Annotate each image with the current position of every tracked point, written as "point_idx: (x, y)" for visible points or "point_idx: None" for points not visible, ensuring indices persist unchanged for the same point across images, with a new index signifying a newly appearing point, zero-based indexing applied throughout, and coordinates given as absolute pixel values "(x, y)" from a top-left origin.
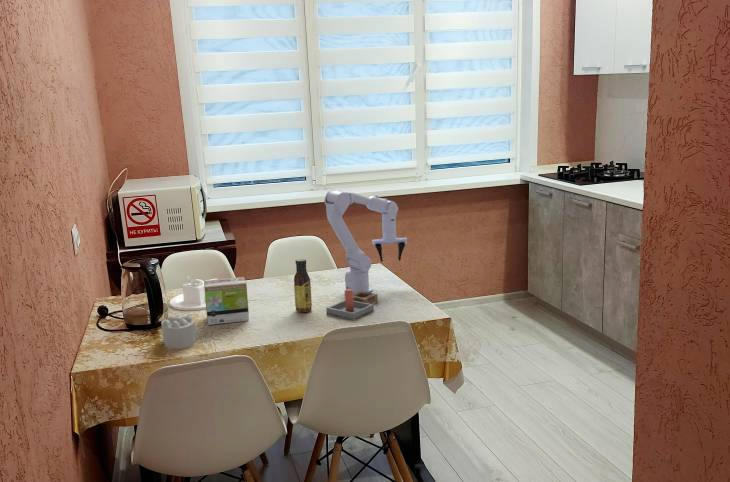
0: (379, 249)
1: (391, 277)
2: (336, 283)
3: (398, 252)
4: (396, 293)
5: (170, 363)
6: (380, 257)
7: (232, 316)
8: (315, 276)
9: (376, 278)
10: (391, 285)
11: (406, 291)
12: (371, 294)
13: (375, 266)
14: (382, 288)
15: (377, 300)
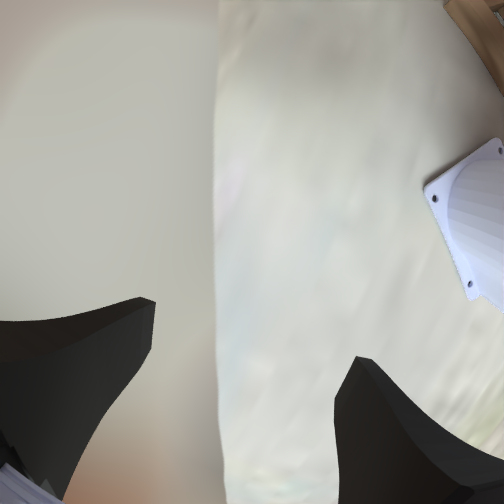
0: (462, 459)
1: (222, 381)
2: (484, 388)
3: (109, 400)
4: (313, 61)
5: None
6: (394, 384)
7: None
8: None
9: (302, 400)
10: (280, 239)
11: (239, 73)
12: (486, 6)
13: (235, 501)
14: (358, 204)
15: (446, 4)
